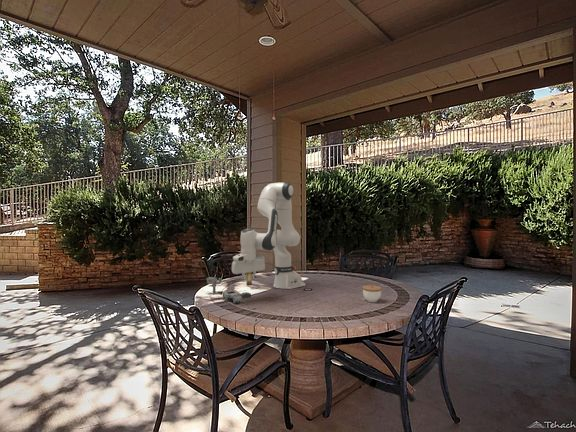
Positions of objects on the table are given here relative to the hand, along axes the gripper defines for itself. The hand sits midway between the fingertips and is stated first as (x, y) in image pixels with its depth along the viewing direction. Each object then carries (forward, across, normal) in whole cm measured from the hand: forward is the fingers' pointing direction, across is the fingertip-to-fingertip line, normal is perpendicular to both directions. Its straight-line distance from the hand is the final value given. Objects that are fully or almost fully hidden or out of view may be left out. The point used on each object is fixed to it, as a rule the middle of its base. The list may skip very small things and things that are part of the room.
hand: (249, 279), depth 198 cm
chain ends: (+12, +5, -4) cm, 14 cm away
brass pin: (+3, 0, 0) cm, 3 cm away
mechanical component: (+12, +14, -26) cm, 32 cm away
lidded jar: (+14, -61, +37) cm, 73 cm away
